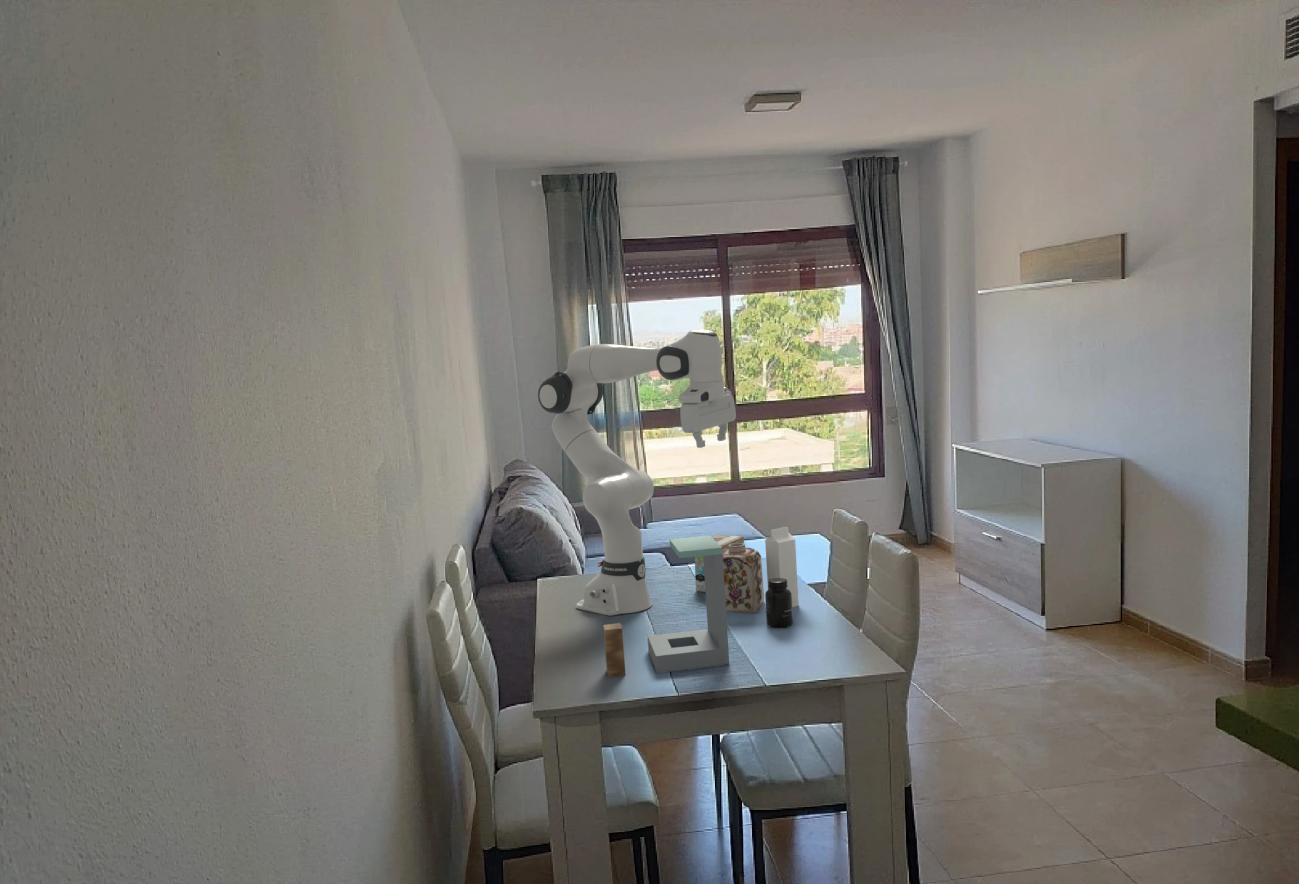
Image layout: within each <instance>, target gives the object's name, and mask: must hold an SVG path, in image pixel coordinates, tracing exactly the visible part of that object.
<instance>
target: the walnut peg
mask: <svg viewBox="0 0 1299 884" xmlns="http://www.w3.org/2000/svg"><path fill="white" fill-rule="evenodd" d="M602 628H603V638H604V640H603V641H604V654H605V664H606V672H607V673H606V674H607V677H608V678H609V677H618V676H619V677H621V676H625V675H626V664H625V663H626V662H625V661H626V659H625V650H624V647H625V646H624V635H623V634H624V633H623V627H622V624H621V622H618V623H608V624H603V627H602Z"/></svg>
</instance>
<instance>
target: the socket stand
mask: <svg viewBox="0 0 1299 884" xmlns="http://www.w3.org/2000/svg"><path fill="white" fill-rule="evenodd" d="M712 537H713V536H711V535H701V536H700V535H699V536H693V537H682V538H681V537H680V538H670V539H669V546H670V547H671V549H672V550H673V551H674V553H675V554H676V555H677V556H678V558H679V559H685V558H695V557H697V556H703V560H704V576H705V591H706V592H705V605H706V607H705V608H706V619H707V622H706V623H707V629H698V630H697V629H696V630H687V631H681V632H671V633H670V632H669V633H661V634H660V633H659V634H652V635H647V646H648V647H647V648H648V649H647V650H648V653H649V656H650V659H651V661H652V663H653V666H654V668H655V670H656V671H655V672H656V673H657V674H660V673H670V672H679V671H686V669H688V670H694V668H697V669H703V668H702V667H705V668H711V667H710V666H714V667H721V666H723V665H729V664H730V655H729V653H730V652H729V637H728V619H727V612H726V601H725V585H724V569H723V552H722V547H721V546H720V545H719V544H718V543H717V542H716V541H715V540H714V539H713V538H712Z"/></svg>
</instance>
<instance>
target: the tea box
mask: <svg viewBox="0 0 1299 884" xmlns="http://www.w3.org/2000/svg"><path fill="white" fill-rule="evenodd" d="M711 537H712V538H713V539H714V540H715V541H716V542H717V543H718V544H719V545H720V546H721V547H722V550H724V549H728V545H730V544H733V543H744V544H745V539H744V536H741V535H740V536H739V535H725V534H716V535H713V536H711ZM694 572H695V574H694V575H695V591H697V592H701V593H703V592H704V593H706V591H705V576H704V560H703V556H697V557H694Z"/></svg>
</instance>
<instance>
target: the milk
mask: <svg viewBox="0 0 1299 884" xmlns="http://www.w3.org/2000/svg"><path fill="white" fill-rule="evenodd" d="M764 541H765V556H766V557H765V560H766V577H767V590H769V589H770V588H769V587H768V585H769V579H773V578H784V579H787V585H788V587H787V589H788V590H790V591H791V594H792V608H795V607H798V606H800V605H799V588H798V570H797V569H798V568H797V567H798V566H797V553H796V552H797V551H796V549H797V547H796V539H795V538H794V536H793V535H792V534H791V533H790V532H789V527H788V526H783V527H779V528H774V529H771V530H770V536H768V537H767V538H765V540H764Z"/></svg>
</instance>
